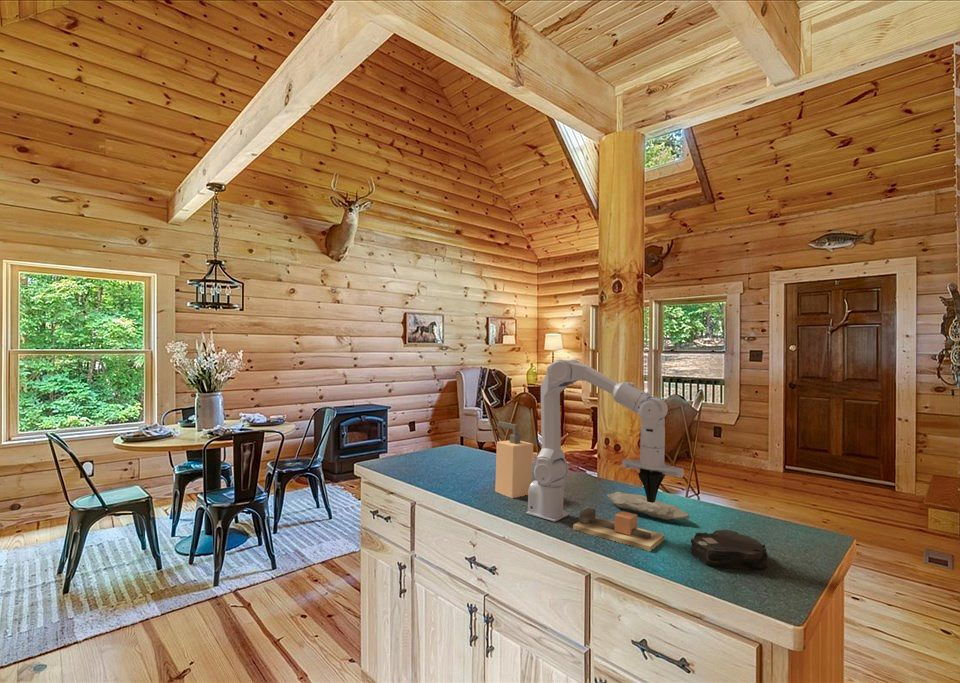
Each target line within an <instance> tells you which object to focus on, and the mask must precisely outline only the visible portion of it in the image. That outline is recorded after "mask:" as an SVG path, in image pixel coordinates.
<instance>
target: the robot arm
mask: <svg viewBox="0 0 960 683" xmlns="http://www.w3.org/2000/svg"><path fill="white" fill-rule="evenodd" d="M579 381H580V382H581V381H582V382H583V381H584V382H587V383H589V384H591V385H594V386H596V387H597V388H600V389H602V390H603V391H605V392H607V393H608V394H609V393H610V394H611V396H612V397H613V398H612V399H613V401H614V402H615V403H618V404H619V405H621V406H623V407H625V408H626V409H628V410H630V411H631V412H634V413H635V414H638V416H639V419H640V439H639V440H640V442H639V443H640V444H639V451H640V452H639V459H629V458H623V459H622V460H621V468H622V469H634V470H638V471H639V472H638V474H637V475H638V478H639V480H640V482H641V484H642V486H643V489H644V492H645V496H646V497H647V502H651V503H653V502H655V500H657V495H658V492H659V488H660V486H661V484H662V483H663V482H662V481H663V480H664V478H665V476H672V477H677V478H679V479H682V478H683V477H684V475H685V474H684V473H685V472H684V468H683V467H679V466H673V465H671V464H670V465H669V464H666V463H665V452H666V451H665V450H666V448H665V447H666V428H665V425H666V419H665V417H666V416H667V414H668V411H669V407H668V404H667V402H666V401H665V400H664V399H662V398H661V397H660V396H652V392H649V391H647V392H646V391H643V390H641V389H639V388H637V387H636V386H635V384H636V383H634V382H632V381H630V382H626V381H623V382H620V383H619V382H616V381H615V380H613V379H611V378H610V377H608V376H606V375H605V374H604V373H601V372H600V371H598V370H597V369H595V368H593V367H591V366H590V365H588V364H586V363H583V362H580V361H579V360H577V359H568V360H567V359H556V360H554V361H553V362H552V363H550V364H549V365H548V366H547V367H546V374H545V376H544V378H543V380H542V382H541V385H540V423H541V424H540V427H541V428H540V432H541V433H540V434H541V435H540V436H541V438H540V439H541V440H540V441H541V449H540V451H539V452H538V454H537V457H536V463H535V466H534V468H533V475H534V478H535V479H534V480H532V483H531V484H530V487H529V491H528V495H527V511H526V512H525V513H526V514H527V515H529V516H534V517H537V518H540V519H544V520H548V521H551V522H557V521H560V520H562V519H565V518H566V517H567V516H569V515H570V514H569V513H570V512H565V511H564V490H565V489H564V488H565V486H564V485H565V482H564V480H565V478H566V476H567V475H568V473H569V467H568V464H567V462H566V461H567V460H566V457H565V456H566V455H565V454H566V453H565V452H564V451H563V449H562V447H561V444H562V443H561V442H562V439H561V430H562V429H561V395H560V394H561V393H562V392H563V391H564V390H565V389H566V388H567V387H568V386H570V385H572V384H575V383H577V382H579Z"/></svg>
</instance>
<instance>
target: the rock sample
mask: <svg viewBox="0 0 960 683" xmlns="http://www.w3.org/2000/svg"><path fill="white" fill-rule="evenodd" d="M690 543H691V546H690V551H691V552H690V553H691V556H693V557H694V556H695V557H694V558H696V559H697V558H698V559H699V560H698V559H697V560H698V561H699V562H701V563H702V562H703V564H704V565H705V566H708V565H709V567H715V568H716V567H718V568H724V569H725V568H729V569H742V570H750V569H754V570H755V569H756V570H758V569H761V570H762V569H765V568H766V567H768V561H769V559H768V558H769V557H768V556H769V554H768V552H767V548H766V545H765V544H763V543H761V542H760V541H758V540H757V539H756V538H752V537H751V536H750V535H746V534H740V533H739V532H737V531H735V530H731V529H720V530H719V529H717V530H715V531H713V533H711V532H710V533H708V532H696V533H695V535H694V538H691V539H690Z"/></svg>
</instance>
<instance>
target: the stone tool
mask: <svg viewBox="0 0 960 683" xmlns="http://www.w3.org/2000/svg"><path fill="white" fill-rule="evenodd" d="M606 497H607V498H608V499H609V500H611V502H612V504H614V505H615V507H618V508H620V509H624V510H630V511H633V512H638V513H642V514H646V515H648V516H650V517H652V518H655V519H659V520H663V521H673V520H674V521H675V520H688V519H690V518H691V516H690V514H688V513H687V512H686V511H684V510H682V509H680V508H679V507H677V506H675V505H672V504H668V503H665V502H662V501H659V500H657V499H656V500H655V502H653V503H651V502H647V497H646V495H643V494H634V493H626V492H621V491H616V492H612V493H610V494H607V496H606Z"/></svg>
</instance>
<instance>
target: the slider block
mask: <svg viewBox="0 0 960 683" xmlns="http://www.w3.org/2000/svg"><path fill="white" fill-rule="evenodd" d="M614 522H615V525H614V531H616V532H620V533H624V534H627V535H631V531H632V529H637V528H638V514H637V513H633V512H632V513H631V512H629V511H624V510H621V511H620V512H618V513H616V514H614Z"/></svg>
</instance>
